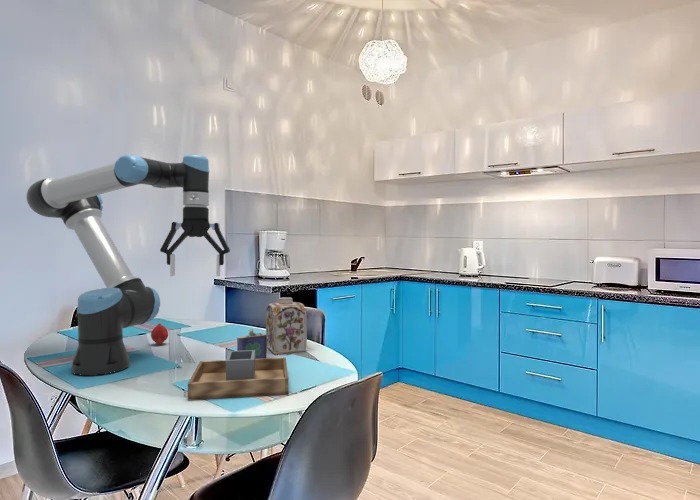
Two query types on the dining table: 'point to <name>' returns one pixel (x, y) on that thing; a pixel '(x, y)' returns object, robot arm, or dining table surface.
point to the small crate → (240, 365)
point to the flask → (253, 344)
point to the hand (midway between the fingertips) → (195, 275)
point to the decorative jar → (286, 326)
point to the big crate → (214, 385)
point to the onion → (159, 334)
